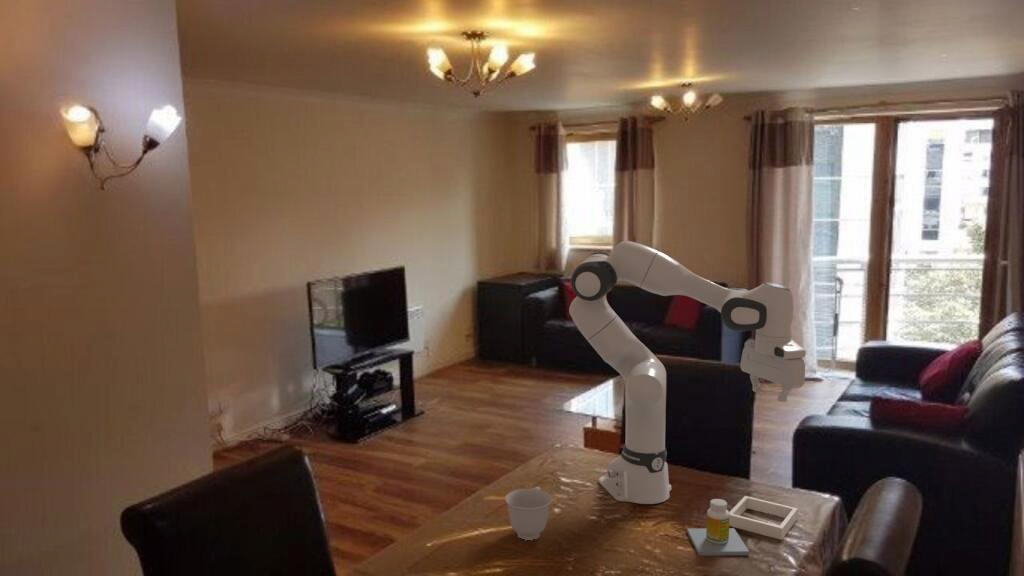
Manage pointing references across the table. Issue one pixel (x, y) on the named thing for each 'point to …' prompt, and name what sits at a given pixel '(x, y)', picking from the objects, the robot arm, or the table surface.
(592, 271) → the robot arm
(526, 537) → the teacup
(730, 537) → the pad
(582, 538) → the table surface
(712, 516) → the supplement bottle
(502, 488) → the table surface
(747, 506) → the bin
